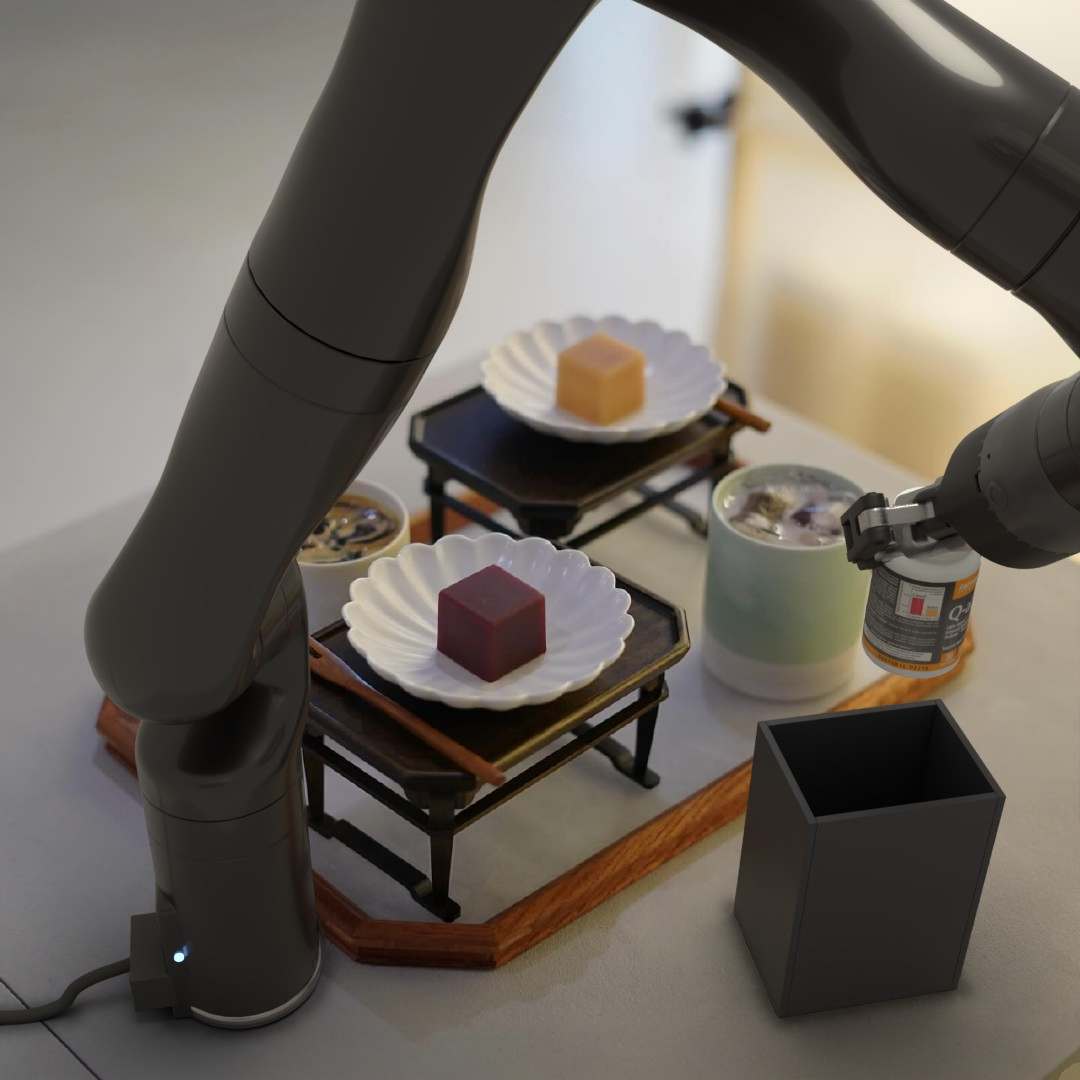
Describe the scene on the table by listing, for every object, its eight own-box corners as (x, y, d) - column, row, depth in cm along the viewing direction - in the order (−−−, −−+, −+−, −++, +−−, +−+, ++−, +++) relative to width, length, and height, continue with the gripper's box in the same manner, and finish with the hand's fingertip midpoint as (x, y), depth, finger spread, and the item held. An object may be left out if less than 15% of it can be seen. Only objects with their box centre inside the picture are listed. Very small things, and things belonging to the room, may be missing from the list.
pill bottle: (961, 689, 85) (994, 542, 80) (858, 675, 86) (883, 528, 81) (958, 630, 90) (988, 487, 85) (860, 617, 91) (884, 475, 86)
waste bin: (778, 1018, 94) (809, 824, 85) (733, 910, 101) (757, 721, 92) (957, 988, 96) (1006, 796, 87) (901, 885, 104) (940, 697, 95)
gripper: (1182, 382, 72) (1016, 471, 88) (899, 407, 69) (782, 494, 86) (1216, 536, 71) (1041, 598, 87) (929, 567, 68) (804, 625, 84)
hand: (913, 546), depth 86 cm, fingers closed on pill bottle, 5 cm apart
